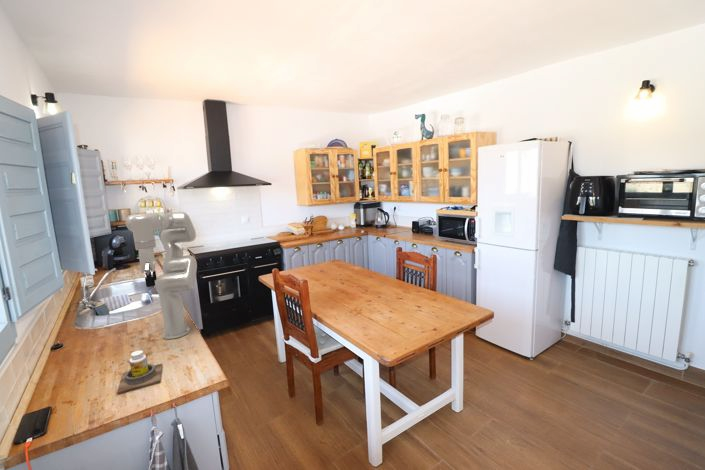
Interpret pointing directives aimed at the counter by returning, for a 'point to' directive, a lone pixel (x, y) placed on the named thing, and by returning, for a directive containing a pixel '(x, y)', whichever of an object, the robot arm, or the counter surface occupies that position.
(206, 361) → the counter surface
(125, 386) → the holder
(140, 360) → the supplement bottle
